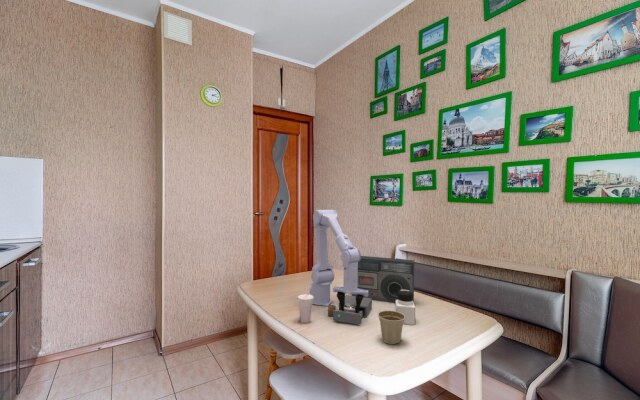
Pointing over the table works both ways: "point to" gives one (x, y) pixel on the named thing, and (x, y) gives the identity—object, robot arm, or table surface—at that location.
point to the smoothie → (305, 306)
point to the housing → (365, 304)
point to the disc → (349, 307)
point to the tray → (348, 316)
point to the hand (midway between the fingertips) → (350, 311)
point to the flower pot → (391, 326)
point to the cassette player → (385, 277)
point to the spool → (331, 310)
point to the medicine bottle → (406, 306)
